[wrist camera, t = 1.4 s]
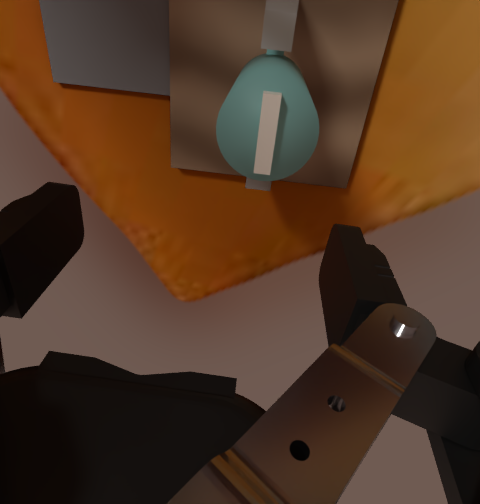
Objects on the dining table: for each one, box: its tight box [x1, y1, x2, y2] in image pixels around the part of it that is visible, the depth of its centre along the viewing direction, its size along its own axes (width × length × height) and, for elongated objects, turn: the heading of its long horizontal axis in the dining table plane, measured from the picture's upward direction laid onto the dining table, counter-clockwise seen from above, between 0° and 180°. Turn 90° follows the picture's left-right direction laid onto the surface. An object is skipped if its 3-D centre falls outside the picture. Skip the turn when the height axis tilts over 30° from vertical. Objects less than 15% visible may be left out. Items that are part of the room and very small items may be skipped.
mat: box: [39, 0, 170, 96], centre depth 28 cm, size 10×10×1 cm
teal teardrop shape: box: [216, 49, 319, 181], centre depth 21 cm, size 9×5×11 cm, turn 175°
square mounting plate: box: [169, 0, 399, 191], centre depth 26 cm, size 16×16×8 cm
